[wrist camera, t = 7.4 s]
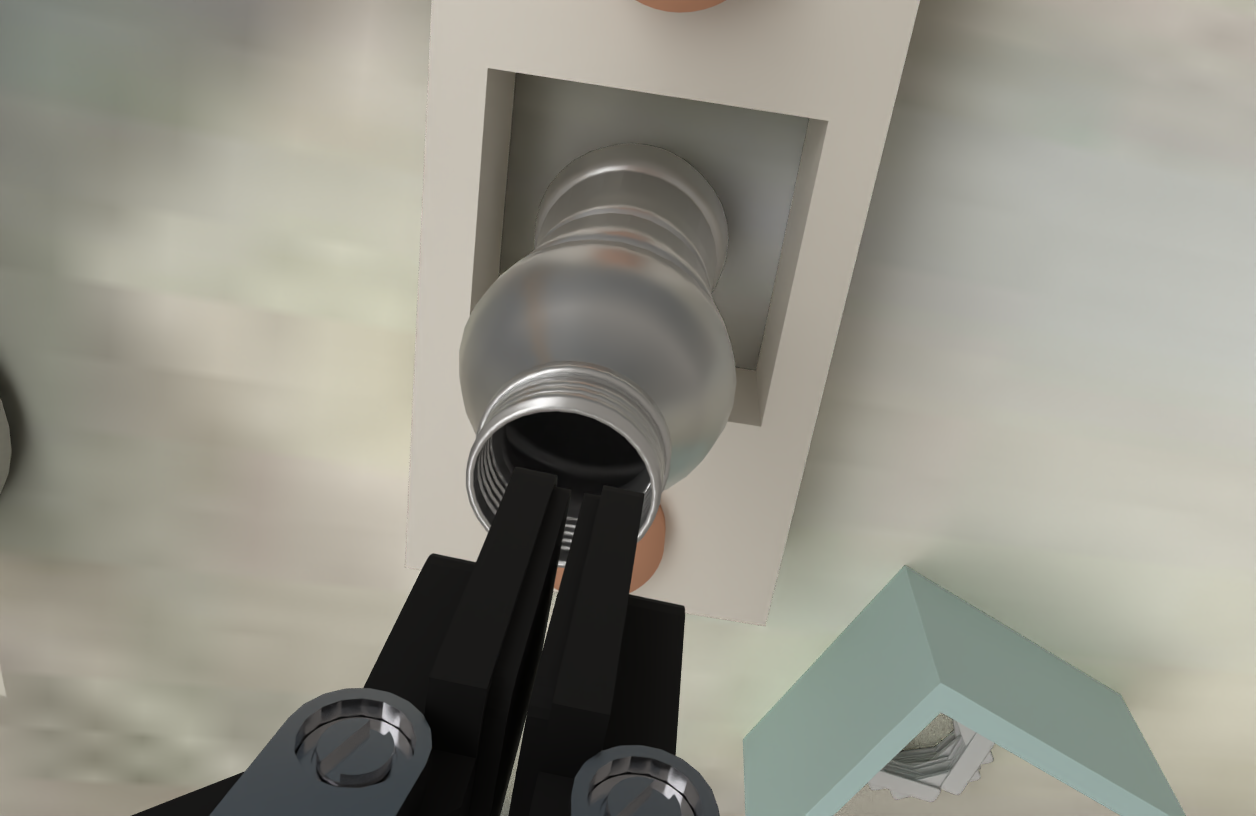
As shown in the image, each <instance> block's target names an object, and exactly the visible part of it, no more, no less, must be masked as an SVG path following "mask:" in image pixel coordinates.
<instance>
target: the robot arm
mask: <svg viewBox="0 0 1256 816" xmlns="http://www.w3.org/2000/svg"><path fill="white" fill-rule="evenodd" d="M11 452H12V451H11V440H10V429H9V424H8V421H7V418H6V414H5V411H4V407H3V404H2V401H1V399H0V494H1V491H2V489H3V486H4V484H5V481H6V479H7V477H8V474H9V467H10V459H11ZM556 486H557V475H554V474H549V473H544V472H540V471H535V470H530V469H525V468H520V467H515V469H514V471H513V473H512V476H511V478H510V480H509V483H508V485H507V488H506V490H505V493H504V495H503V498H502V500H501V502H500V505H499V507H498V510H497V512H496V515H495V517H494V519H493V522H492V524H491V527H490V529H489V532H488V534H487V537H486V539H485V541H484V544H483V546H482V549H481V551H480V554H479V556H478V558H477V561H476V562H473V561H468V560H463V559H458V558H454V557H449V556H444V555H439V554H435V553H432V554H431V555H429V557H428V558H427V560H426V562H425V564H424V566H423V568H422V570H421V572H420V574H419V576H418V578H417V580H416V582H415V584H414V586H413V588H412V590H411V592H410V594H409V596H408V598H407V600H406V602H405V604H404V606H403V608H402V610H401V612H400V615H399V617H398V619H397V621H396V623H395V625H394V627H393V629H392V631H391V633H390V635H389V637H388V639H387V641H386V643H385V645H384V647H383V649H382V651H381V653H380V655H379V657H378V659H377V661H376V663H375V665H374V667H373V669H372V671H371V673H370V675H369V678H368V680H367V682H366V684H365V686H364V688H348V689H342V690H338V691H334V692H330V693H325V694H323V695H321V696H319V697H317V698H315V699H313V700H311V701H309V702H307V703H305V704H303V705H302V706H301V707H300V708H299V709H298V710H297V711H296V712H294V713H293V714H292V715H291V716H290V717H289V718H288V719H287V720H286V722H285V723H284V724H283V725H282V727H281V728H280V729H279V730H278V731H277V733H276V734H275V735H274V736H273V738H272V739H271V740H270V741H269V743H268V744H267V745H266V746H265V747H264V749H263V750H262V751H261V752H260V754H259V755H258V756H257V757H256V759H255V760H254V761H253V762H252V763H251V765H250V766H249V767H248V768H247V770H246V771H245V772H242V773H240V774H237V775H235V776H232V777H230V778H227V779H224V780H222V781H219V782H217V783H214V784H212V785H209V786H206V787H204V788H201V789H199V790H196V791H194V792H191V793H188V794H186V795H183V796H181V797H178V798H176V799H173V800H170V801H168V802H165V803H163V804H160V805H158V806H155V807H152V808H150V809H147V810H145V811H142V812H140V813H137V814H134V815H132V816H500V814H501V810H502V807H503V803H504V799H505V795H506V791H507V788H508V784H509V780H510V776H511V772H512V769H513V765H514V761H515V757H516V754H517V750H518V746H519V742H520V738H521V735H522V731H523V727H524V723H525V727H524V733H523V738H522V744H521V749H520V755H519V760H518V766H517V771H516V777H515V782H514V788H513V793H512V799H511V804H510V810H509V815H508V816H720V815H719V809H718V806H717V803H716V800H715V797H714V794H713V791H712V789H711V788H710V786H709V785H708V784H707V782H706V781H705V780H704V778H703V777H702V776H701V774H700V773H699V772H698V771H697V770H695V769H694V768H693V767H692V766H690V765H689V764H688V763H687V762H685V761H684V760H683V759H681V758H679V757H677V756H675V755H676V741H677V726H678V711H679V697H680V682H681V667H682V653H683V638H684V623H685V607H684V606H683V605H679V604H674V603H669V602H664V601H659V600H655V599H650V598H645V597H640V596H636V595H631V594H629V591H630V585H631V579H632V572H633V566H634V559H635V553H636V547H637V540H638V534H639V527H640V521H641V514H642V508H643V502H644V495H645V494H644V493H640V492H636V491H631V490H626V489H621V488H616V487H612V486H607V485H603V488H602V493H601V496H600V495H595V494H590V493H584V496H583V500H582V504H581V508H580V511H579V515H578V519H577V523H576V526H575V530H574V534H573V538H572V541H571V545H570V549H569V553H568V556H567V560H566V564H565V568H564V572H563V575H562V579H561V583H560V587H559V590H558V594H557V598H556V602H555V605H554V609H553V613H552V617H551V621H550V624H549V628H548V632H547V636H546V639H545V643H544V638H545V633H546V628H547V622H548V617H549V611H550V606H551V600H552V595H553V590H554V584H555V579H556V573H557V568H558V562H559V557H560V552H561V546H562V541H563V535H564V530H565V524H566V519H567V514H568V508H569V503H570V497H571V489H566V488H561V487H556ZM543 644H544V647H543ZM542 649H543V651H542ZM526 716H527V717H526ZM525 719H526V722H525Z"/></svg>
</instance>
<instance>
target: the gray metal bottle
mask: <svg viewBox="0 0 1256 816" xmlns="http://www.w3.org/2000/svg"><path fill="white" fill-rule="evenodd" d="M728 242H729V239H728V227H727V220H726V217H725V214H724V210H723V207H722V204H721V202H720V200H719V199H718V197H717V195H716V193H715V191H714V189H713V188H712V187H711V185H710V184H709V183H708V182H707V181H706V179H705V178H704V177H703V176H702V175H701V173H699V172H698V171H697V170H696V169H695V168H693V167H692V166H691V165H690V164H689V163H687V162H686V161H685V160H684V159H682V158H680V157H678V156H677V155H675V154H673V153H671V152H669V151H667V150H664V149H661V148H657V147H654V146H651V145H644V144H634V143H630V144H619V145H611V146H607V147H604V148H601V149H597V150H594V151H591V152H589V153H587V154H585V155H583V156H581V157H579V158H578V159H576V160H574V161H573V162H571V163H570V164H569V165H568V166H567V167H565V168H564V169H563V170H562V171H561V172H560V173H559V174H558V175H557V176H556V178H555V179H554V180H553V181H552V183H551V184H550V185H549V186H548V188H547V190H546V192H545V194H544V197H543V199H542V201H541V203H540V206H539V210H538V214H537V218H536V225H535V240H534V251H532V252H531V253H530V254H528V255H527V256H525V257H524V258H523V259H521V260H519V261H518V262H517V263H515V264H514V265H513V266H512V267H510V268H509V269H508V270H507V271H505V272H504V273H503V274H502V275H500V276H499V278H498V279H497V280H496V281H495V282H494V283H493V284H492V285H491V286H490V288H489V289H488V290H487V291H486V293H485V294H484V295H483V296H482V298H481V299H480V300H479V301H478V303H477V304H476V305H475V307H474V309H473V311H472V313H471V315H470V317H469V319H468V321H467V323H466V325H465V328H464V332H463V336H462V341H461V345H460V349H459V379H460V386H461V392H462V397H463V401H464V406H465V411H466V414H467V416H468V419H469V421H470V423H471V425H472V428H473V430H474V432H475V434H476V440H475V442H474V444H473V445H472V447H471V449H470V453H469V457H468V461H467V468H466V490H467V494H468V499H469V503H470V505H471V507H472V509H473V511H474V514H475V516H476V518H477V519H478V521H479V522H480V523H481V525H482V526H483V527H484V529H485V530H486V531H487V532H489V529H490V527H491V524H492V522H493V519H494V517H495V515H496V512H497V510H498V507H499V505H500V502H501V500H502V498H503V495H504V493H505V490H506V488H507V485H508V483H509V480H510V478H511V476H512V473H513V471H514V469H515V467H520V468H525V469H530V470H535V471H540V472H544V473H549V474H554V475H557V486H556V487H561V488H566V489H571V497H570V503H569V508H568V514H567V519H566V524H565V530H564V535H563V541H562V546H561V552H560V557H559V562H558V567H560V568H565V564H566V560H567V556H568V553H569V549H570V545H571V541H572V538H573V534H574V530H575V526H576V523H577V519H578V515H579V511H580V508H581V504H582V500H583V496H584V493H590V494H595V495H600V496H601V493H602V488H603V485H607V486H612V487H616V488H621V489H626V490H631V491H636V492H640V493H644V494H645V495H644V502H643V508H642V514H641V521H640V527H639V534H638V540H637V543H638V542H639V541H640V540H641V539H642V538H643V537H644V535H645V534H646V532H647V531H648V529H649V528H650V526H651V525H652V523H653V521H654V519H655V517H656V514H657V511H658V508H659V505H660V500H661V494H662V492H663V491H664V490H667V489H668V488H670V487H671V486H673V485H674V484H676V483H677V482H679V481H681V480H682V479H684V478H685V477H687V476H688V475H689V474H690V473H691V472H692V471H693V470H694V469H695V468H696V467H697V466H698V465H699V464H700V463H701V462H702V461H703V459H704V458H705V457H706V455H707V454H708V453H709V451H710V450H711V449H712V447H713V445H714V444H715V442H716V441H717V439H718V438H719V436H720V435H721V433H722V432H723V430H724V429H725V426H726V424H727V421H728V418H729V416H730V413H731V410H732V408H733V404H734V397H735V389H736V370H735V359H734V354H733V351H732V346H731V342H730V339H729V336H728V332H727V329H726V326H725V323H724V320H723V318H722V317H721V315H720V313H719V311H718V309H717V307H716V305H715V303H714V301H713V298H712V295H711V294H712V292H713V290H714V289H715V287H716V285H717V283H718V280H719V278H720V275H721V273H722V270H723V267H724V264H725V261H726V258H727V250H728Z"/></svg>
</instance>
